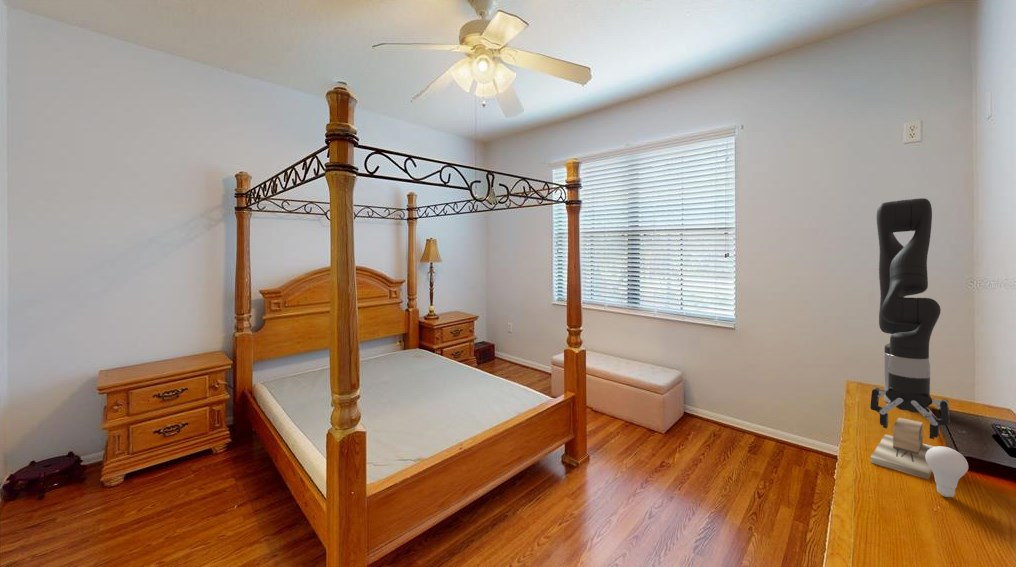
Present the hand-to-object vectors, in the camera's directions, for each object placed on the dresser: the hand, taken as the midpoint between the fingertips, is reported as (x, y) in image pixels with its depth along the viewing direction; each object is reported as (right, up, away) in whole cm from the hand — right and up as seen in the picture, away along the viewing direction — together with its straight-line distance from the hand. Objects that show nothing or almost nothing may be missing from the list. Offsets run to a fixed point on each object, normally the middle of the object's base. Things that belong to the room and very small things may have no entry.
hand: (907, 432), depth 100 cm
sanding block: (0, -4, 0) cm, 4 cm away
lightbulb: (-10, -7, -17) cm, 22 cm away
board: (-3, -6, -2) cm, 7 cm away
